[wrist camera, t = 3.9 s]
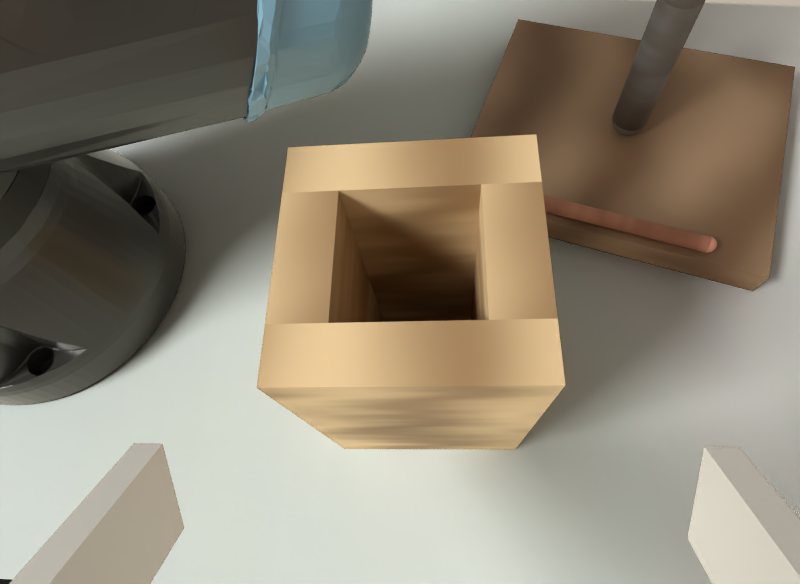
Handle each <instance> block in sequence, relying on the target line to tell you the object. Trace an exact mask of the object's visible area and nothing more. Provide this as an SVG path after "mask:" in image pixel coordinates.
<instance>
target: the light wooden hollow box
mask: <svg viewBox="0 0 800 584" xmlns="http://www.w3.org/2000/svg"><path fill="white" fill-rule="evenodd" d="M564 387H565V377H564V368H563V360H562V351H561V342H560V334H559V325H558V317H557V308H556V299H555V291H554V282H553V274H552V265H551V256H550V248H549V239H548V231H547V222H546V213H545V205H544V196H543V188H542V179H541V170H540V162H539V153H538V144H537V136H536V134H535V135H515V136H496V137H477V138H458V139H439V140H420V141H400V142H381V143H362V144H343V145H324V146H305V147H288V152H287V160H286V167H285V175H284V183H283V190H282V198H281V206H280V213H279V221H278V229H277V236H276V244H275V252H274V259H273V267H272V275H271V282H270V290H269V298H268V305H267V313H266V321H265V328H264V336H263V344H262V351H261V359H260V367H259V374H258V382H257V388H258V389H259V390H261V391H262V392H264V393H265V394H266V395H268V396H269V397H271V398H272V399H274V400H275V401H276V402H278V403H279V404H281V405H282V406H284V407H285V408H287V409H288V410H289V411H291V412H292V413H294V414H295V415H297V416H298V417H299V418H301V419H302V420H304V421H305V422H307V423H308V424H309V425H311V426H312V427H314V428H315V429H317V430H318V431H319V432H321V433H322V434H324V435H325V436H327V437H328V438H330V439H331V440H332V441H334V442H335V443H337V444H338V445H340V446H341V447H342V448H344V449H516V448H517V446H518V445H519V444H520V442H521V441H522V440H523V439H524V437H525V436H526V435H527V434H528V432H529V431H530V430H531V429H532V427H533V426H534V425H535V423H536V422H537V421H538V420H539V418H540V417H541V416H542V415H543V413H544V412H545V411H546V409H547V408H548V407H549V406H550V404H551V403H552V402H553V401H554V399H555V398H556V397H557V396H558V394H559V393H560V392H561V390H562V389H563V388H564Z"/></svg>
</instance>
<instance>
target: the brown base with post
mask: <svg viewBox="0 0 800 584" xmlns="http://www.w3.org/2000/svg"><path fill="white" fill-rule="evenodd" d="M704 2H705V0H657V1H656V4H655V7H654V9H653V12H652V14H651V17H650V20H649V22H648V25H647V27H646V30H645V33H644V35H643V38H642V40H635V39H629V38H624V37H618V36H612V35H606V34H600V33H595V32H589V31H583V30H577V29H571V28H565V27H560V26H554V25H548V24H542V23H536V22H531V21H525V20H519V19H518V22H517V24H516V27H515V29H514V32H513V34H512V37H511V39H510V41H509V44H508V46H507V49H506V51H505V54H504V56H503V59H502V61H501V64H500V66H499V69H498V71H497V74H496V76H495V79H494V81H493V84H492V86H491V88H490V91H489V93H488V96H487V98H486V101H485V103H484V106H483V108H482V111H481V113H480V116H479V118H478V121H477V123H476V126H475V128H474V131H473V133H472V136H471V138H477V137H496V136H515V135H535V134H536V136H537V144H538V153H539V162H540V170H541V179H542V188H543V196H544V205H545V213H546V222H547V231H548V237H551V238H555V239H559V240H563V241H566V242H570V243H574V244H578V245H581V246H585V247H589V248H593V249H596V250H600V251H604V252H608V253H611V254H615V255H619V256H623V257H627V258H630V259H634V260H638V261H642V262H645V263H649V264H653V265H657V266H660V267H664V268H668V269H672V270H675V271H679V272H683V273H687V274H690V275H694V276H698V277H702V278H706V279H709V280H713V281H717V282H721V283H724V284H728V285H732V286H736V287H739V288H743V289H747V290H751V291H753V290H755V289H756V288H757V287H758V286H760V285H761V284H762V283H763V282H765V281H766V280H767V279H769V275H770V267H771V259H772V251H773V243H774V234H775V226H776V218H777V210H778V202H779V194H780V185H781V177H782V169H783V161H784V153H785V144H786V136H787V128H788V120H789V112H790V104H791V95H792V87H793V79H794V71H795V67H792V66H786V65H780V64H775V63H769V62H763V61H757V60H751V59H746V58H740V57H734V56H728V55H722V54H717V53H711V52H705V51H699V50H693V49H688V48H683V46H684V44H685V42H686V40H687V38H688V36H689V34H690V32H691V29H692V27H693V25H694V23H695V21H696V19H697V17H698V15H699V13H700V11H701V8H702V6H703V4H704Z"/></svg>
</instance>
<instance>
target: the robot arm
mask: <svg viewBox="0 0 800 584" xmlns="http://www.w3.org/2000/svg"><path fill="white" fill-rule="evenodd" d="M371 16H372V0H0V404H4V405H29V404H37V403H43V402H47V401H52V400H55V399H58V398H62V397H65V396H67V395H70V394H73V393H75V392H77V391H80V390H82V389H84V388H86V387H88V386H90V385H92V384H94V383H95V382H97V381H99V380H100V379H102V378H104V377H105V376H107V375H108V374H110V373H111V372H112V371H114V370H115V369H116V368H118V367H119V366H120V365H122V364H123V363H124V362H125V361H126V360H128V359H129V358H130V357H131V356H132V355H133V354H134V353H135V352H136V351H137V350H138V349H139V348H140V347H141V346H142V345H143V344H144V343H145V342H146V341H147V339H148V338H149V337H150V336H151V334H152V333H153V332H154V331H155V329H156V328H157V327H158V325H159V324H160V322H161V321H162V319H163V318H164V316H165V314H166V313H167V311H168V309H169V307H170V305H171V303H172V301H173V299H174V297H175V294H176V292H177V289H178V286H179V283H180V280H181V277H182V272H183V267H184V260H185V238H184V231H183V227H182V223H181V220H180V218H179V215H178V213H177V211H176V209H175V207H174V205H173V204H172V202H171V201H170V200H169V198H168V197H167V196H166V195H165V194H164V193H163V191H162V190H161V189H160V188H159V187H158V186H157V185H156V183H155V182H154V181H153V180H152V179H151V178H150V177H149V176H148V175H147V174H146V173H145V172H144V171H143V170H142V169H141V168H139V167H138V166H137V165H135V164H134V163H133V162H131V161H130V160H128V159H126V158H124V157H123V156H121V155H119V154H117V153H115V152H113V151H111V150H109V149H111V148H115V147H119V146H123V145H128V144H132V143H136V142H140V141H145V140H149V139H153V138H157V137H162V136H166V135H170V134H174V133H178V132H183V131H187V130H191V129H195V128H200V127H204V126H208V125H212V124H217V123H221V122H225V121H229V120H234V119H238V118H242V117H243V119H244V120H245V121H247V122H250V121H255V120H256V119H258V118H259V117H261V116H262V115H263V114H264V113H265V111H267V110H270V109H274V108H277V107H280V106H284V105H287V104H291V103H294V102H298V101H301V100H305V99H308V98H311V97H315V96H318V95H322V94H325V93H328V92H331V91H333V90H335V89H337V88H338V87H340V86H342V85H343V84H344V83H345V82H347V80H348V79H349V78H350V76H351V75H352V74H353V72H354V71H355V70H356V68H357V67H358V66H359V64H360V62H361V59H362V57H363V55H364V53H365V51H366V48H367V44H368V39H369V33H370V25H371ZM183 529H184V525H183V521H182V517H181V513H180V509H179V505H178V502H177V498H176V494H175V490H174V486H173V482H172V478H171V475H170V471H169V467H168V463H167V459H166V455H165V451H164V448H163V444H141V443H134V444H133V445H132V446H131V447H130V449H129V450H128V451H127V452H126V453H125V454H124V455H123V456H122V458H121V459H120V460H119V461H118V462H117V463H116V464H115V465H114V466H113V468H112V469H111V470H110V471H109V472H108V473H107V474H106V475H105V477H104V478H103V479H102V480H101V481H100V482H99V483H98V484H97V486H96V487H95V488H94V489H93V490H92V491H91V492H90V493H89V495H88V496H87V497H86V498H85V499H84V500H83V501H82V502H81V504H80V505H79V506H78V507H77V508H76V509H75V510H74V511H73V513H72V514H71V515H70V516H69V517H68V518H67V519H66V520H65V522H64V523H63V524H62V525H61V526H60V527H59V528H58V529H57V531H56V532H55V533H54V534H53V535H52V536H51V537H50V538H49V540H48V541H47V542H46V543H45V544H44V545H43V546H42V547H41V548H40V550H39V551H38V552H37V553H36V554H35V555H34V556H33V557H32V559H31V560H30V561H29V562H28V563H27V564H26V565H25V566H24V568H23V569H22V570H21V571H20V572H19V573H18V574H17V575H16V577H15V578H14V579H13V580H9V579H0V584H151V582H152V580H153V579H154V577H155V575H156V574H157V572H158V570H159V569H160V567H161V565H162V564H163V562H164V560H165V559H166V557H167V555H168V554H169V552H170V550H171V549H172V547H173V545H174V544H175V542H176V540H177V539H178V537H179V535H180V534H181V532H182V530H183ZM688 540H689V542H690V544H691V546H692V548H693V549H694V551H695V553H696V555H697V557H698V559H699V560H700V562H701V564H702V566H703V568H704V570H705V571H706V573H707V575H708V577H709V579H710V581H711V582H712V584H800V519H799V518H798V517H797V515H796V514H795V513H794V512H793V511H792V509H791V508H790V507H789V506H788V505H787V503H786V502H785V501H784V500H783V499H782V497H781V496H780V495H779V494H778V493H777V491H776V490H775V489H774V488H773V487H772V485H771V484H770V483H769V482H768V481H767V479H766V478H765V477H764V476H763V475H762V473H761V472H760V471H759V470H758V469H757V467H756V466H755V465H754V464H753V463H752V461H751V460H750V459H749V458H748V457H747V455H746V454H745V453H744V452H743V451H742V449H741V448H740V447H704V451H703V456H702V462H701V467H700V473H699V478H698V484H697V489H696V495H695V500H694V506H693V511H692V516H691V522H690V527H689V533H688Z"/></svg>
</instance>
